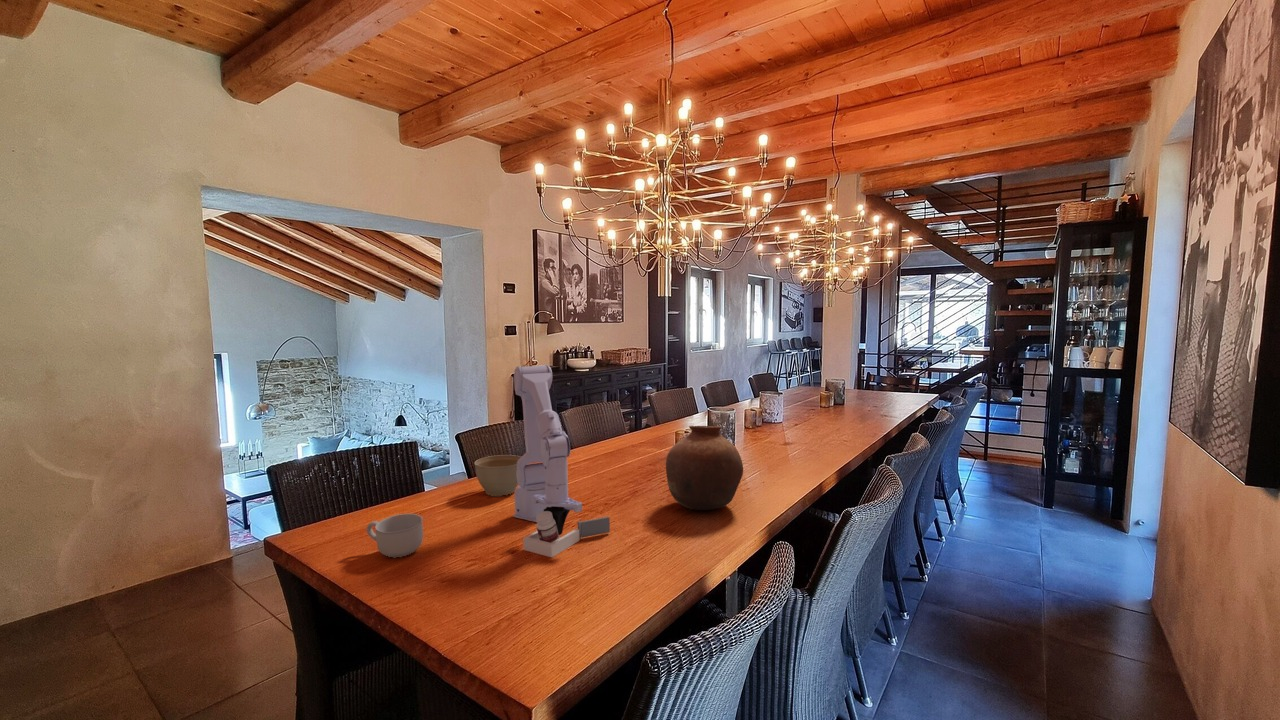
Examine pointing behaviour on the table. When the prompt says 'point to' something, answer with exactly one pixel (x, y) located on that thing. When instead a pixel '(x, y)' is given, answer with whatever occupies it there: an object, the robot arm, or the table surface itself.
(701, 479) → the pottery
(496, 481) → the planter bowl
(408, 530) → the teacup
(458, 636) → the table surface
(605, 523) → the channel cover
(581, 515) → the table surface
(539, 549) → the channel
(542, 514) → the pill bottle
